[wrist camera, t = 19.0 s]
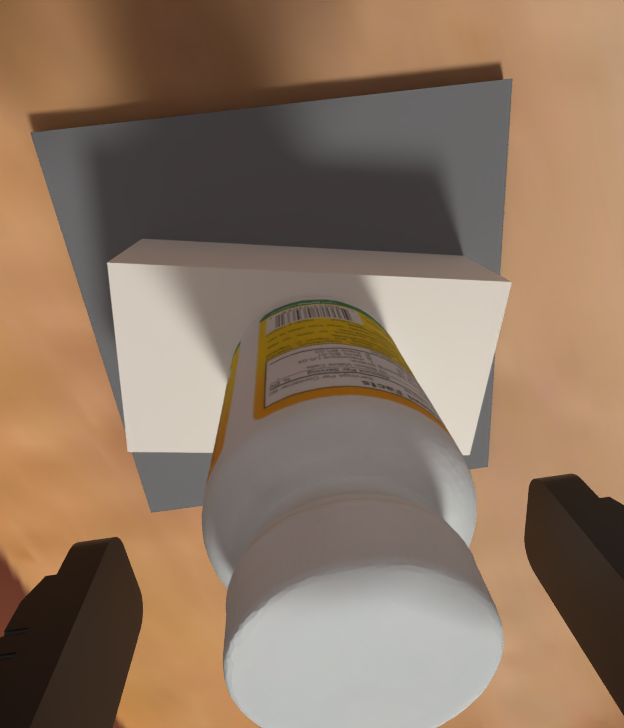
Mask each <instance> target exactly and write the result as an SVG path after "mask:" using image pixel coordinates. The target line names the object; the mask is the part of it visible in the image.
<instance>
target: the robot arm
mask: <svg viewBox="0 0 624 728" xmlns="http://www.w3.org/2000/svg"><path fill="white" fill-rule="evenodd" d="M524 541H525V549H526V553H527V557H528V560H529V563H530V565H531V567H532V569H533V571H534V573H535V575H536V576H537V578H538V579H539V581H540V583H541V584H542V586H543V587H544V589H545V591H546V592H547V594H548V595H549V597H550V599H551V600H552V602H553V603H554V605H555V607H556V608H557V610H558V611H559V613H560V615H561V616H562V618H563V619H564V621H565V622H566V624H567V626H568V627H569V629H570V630H571V632H572V634H573V635H574V637H575V638H576V640H577V642H578V643H579V645H580V646H581V648H582V650H583V651H584V653H585V654H586V656H587V658H588V659H589V661H590V662H591V664H592V666H593V667H594V669H595V670H596V672H597V674H598V675H599V677H600V678H601V680H602V682H603V683H604V685H605V686H606V688H607V690H608V691H609V693H610V694H611V696H612V698H613V699H614V701H615V702H616V704H617V706H618V707H619V709H620V710H621V712H622V714H623V715H624V505H623V504H621V503H619V502H617V501H616V500H614V499H612V498H611V497H605V498H599V497H598V496H597V495H596V494H595V493H594V492H593V491H592V490H591V489H590V488H589V487H588V486H587V484H586V483H585V482H584V481H583V480H582V479H581V478H580V477H578V476H577V475H575V474H565V475H558V476H551V477H544V478H537V479H533V480H532V481H531V482H530V485H529V492H528V503H527V514H526V525H525V536H524ZM142 617H143V602H142V595H141V591H140V589H139V586H138V583H137V580H136V578H135V575H134V572H133V570H132V567H131V564H130V561H129V559H128V556H127V553H126V551H125V548H124V545H123V543H122V541H121V540H120V539H119V538H118V537H112V538H105V539H98V540H91V541H84V542H78V543H75V544H74V545H73V546H72V547H71V548H70V550H69V552H68V554H67V556H66V558H65V560H64V561H63V563H62V565H61V567H60V569H59V571H58V573H57V575H50V576H45V577H44V578H43V579H42V581H41V582H40V583H39V584H38V585H37V586H36V587H35V588H34V589H33V590H32V591H31V592H30V593H29V594H28V595H27V596H26V597H25V598H24V599H23V600H22V601H21V603H20V604H19V606H18V608H17V610H16V611H15V613H14V615H13V617H12V618H11V620H10V622H9V624H8V626H7V627H6V629H5V631H4V632H5V634H4V637H1V638H0V728H113V724H114V721H115V717H116V714H117V710H118V707H119V703H120V700H121V696H122V693H123V689H124V686H125V682H126V678H127V675H128V671H129V668H130V664H131V661H132V657H133V654H134V650H135V647H136V643H137V640H138V636H139V632H140V629H141V624H142Z"/></svg>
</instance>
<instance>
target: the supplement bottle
mask: <svg viewBox="0 0 624 728" xmlns="http://www.w3.org/2000/svg"><path fill="white" fill-rule="evenodd" d="M476 512H477V505H476V492H475V488H474V483H473V479H472V476H471V473H470V470H469V467H468V465H467V463H466V461H465V459H464V457H463V455H462V453H461V451H460V450H459V448H458V446H457V444H456V443H455V441H454V439H453V438H452V436H451V435H450V433H449V431H448V430H447V428H446V426H445V424H444V423H443V421H442V420H441V418H440V416H439V415H438V413H437V412H436V410H435V408H434V407H433V405H432V403H431V402H430V400H429V398H428V397H427V395H426V394H425V392H424V390H423V389H422V388H421V386H420V385H419V383H418V382H417V380H416V378H415V376H414V375H413V373H412V371H411V370H410V368H409V366H408V365H407V363H406V362H405V360H404V358H403V357H402V355H401V353H400V352H399V350H398V348H397V346H396V344H395V343H394V341H393V339H392V338H391V336H390V335H389V334H388V332H387V331H386V329H385V328H384V327H383V326H382V324H381V323H380V322H379V321H378V320H377V319H376V318H375V317H374V316H372V315H371V314H370V313H368V312H367V311H366V310H364V309H363V308H361V307H359V306H357V305H355V304H353V303H351V302H348V301H345V300H342V299H339V298H334V297H328V296H305V297H298V298H294V299H290V300H287V301H284V302H282V303H279V304H277V305H275V306H273V307H272V308H270V309H268V310H267V311H265V312H264V313H263V314H261V315H260V316H259V317H258V318H256V319H255V320H254V321H253V322H252V323H251V324H250V326H249V327H248V328H247V329H246V330H245V332H244V333H243V335H242V337H241V338H240V340H239V342H238V344H237V346H236V348H235V351H234V354H233V357H232V361H231V365H230V370H229V376H228V380H227V384H226V390H225V396H224V401H223V406H222V411H221V415H220V421H219V425H218V430H217V435H216V440H215V445H214V450H213V454H212V459H211V464H210V469H209V473H208V477H207V483H206V488H205V494H204V500H203V509H202V531H203V538H204V543H205V547H206V550H207V554H208V557H209V559H210V561H211V564H212V566H213V568H214V570H215V572H216V573H217V575H218V577H219V578H220V580H221V581H222V583H223V584H224V586H225V587H226V588H227V589H228V591H227V597H226V628H225V639H224V651H223V669H224V678H225V682H226V685H227V688H228V691H229V693H230V696H231V697H232V699H233V700H234V702H235V703H236V705H237V706H238V708H239V709H240V710H241V711H242V712H243V713H244V714H245V715H246V716H247V717H248V718H249V719H251V720H252V721H253V722H254V723H255V724H257V725H259V726H260V727H262V728H436V727H438V726H440V725H442V724H444V723H445V722H447V721H448V720H450V719H452V718H454V717H455V716H457V715H458V714H459V713H461V712H462V711H463V710H465V709H466V708H467V707H468V706H469V705H470V704H471V703H472V702H473V701H474V700H475V699H476V698H478V697H479V696H480V695H481V694H482V692H483V691H484V690H485V688H486V687H487V686H488V684H489V683H490V681H491V680H492V678H493V676H494V674H495V672H496V669H497V667H498V665H499V663H500V660H501V657H502V652H503V644H504V639H503V628H502V623H501V620H500V617H499V615H498V612H497V609H496V606H495V604H494V602H493V600H492V598H491V595H490V593H489V591H488V589H487V587H486V585H485V582H484V580H483V578H482V576H481V574H480V572H479V570H478V567H477V565H476V562H475V560H474V557H473V554H472V553H471V551H470V549H469V547H470V543H471V540H472V537H473V534H474V529H475V524H476Z"/></svg>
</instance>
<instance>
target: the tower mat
mask: <svg viewBox="0 0 624 728" xmlns="http://www.w3.org/2000/svg"><path fill="white" fill-rule="evenodd" d="M511 93H512V79H504V80H495V81H486V82H477V83H468V84H459V85H450V86H442V87H433V88H424V89H415V90H406V91H397V92H388V93H379V94H370V95H361V96H352V97H343V98H334V99H326V100H317V101H308V102H299V103H290V104H281V105H272V106H263V107H254V108H245V109H236V110H227V111H218V112H209V113H201V114H192V115H183V116H174V117H165V118H156V119H147V120H138V121H129V122H120V123H111V124H102V125H93V126H85V127H76V128H67V129H58V130H49V131H40V132H31V136H32V140H33V143H34V146H35V149H36V152H37V155H38V158H39V162H40V165H41V168H42V171H43V174H44V177H45V180H46V184H47V187H48V190H49V193H50V196H51V199H52V202H53V206H54V209H55V212H56V215H57V218H58V221H59V224H60V228H61V231H62V234H63V237H64V240H65V243H66V246H67V250H68V253H69V256H70V259H71V262H72V265H73V268H74V272H75V275H76V278H77V281H78V284H79V287H80V290H81V294H82V297H83V300H84V303H85V306H86V309H87V312H88V316H89V319H90V322H91V325H92V328H93V331H94V334H95V338H96V341H97V344H98V347H99V350H100V353H101V356H102V360H103V363H104V366H105V369H106V372H107V375H108V378H109V382H110V385H111V388H112V391H113V394H114V397H115V400H116V404H117V407H118V410H119V413H120V416H121V419H122V422H123V426H124V429H125V422H124V412H123V403H122V394H121V385H120V376H119V367H118V358H117V348H116V339H115V330H114V321H113V312H112V303H111V294H110V284H109V275H108V266H107V262H109V261H110V260H112V259H113V258H115V257H116V256H117V255H119V254H120V253H122V252H123V251H125V250H126V249H128V248H129V247H131V246H132V245H134V244H135V243H136V242H138V241H139V240H141V239H159V240H178V241H196V242H215V243H234V244H253V245H271V246H290V247H309V248H328V249H346V250H365V251H384V252H403V253H422V254H440V255H459V256H465V257H467V258H469V259H470V260H472V261H474V262H476V263H478V264H480V265H481V266H483V267H485V268H487V269H489V270H491V271H492V272H494V273H496V274H498V275H500V267H501V251H502V235H503V219H504V203H505V188H506V172H507V156H508V140H509V124H510V109H511ZM494 361H495V353H494V357H493V361H492V365H491V369H490V373H489V378H488V382H487V386H486V390H485V394H484V398H483V402H482V406H481V411H480V415H479V419H478V423H477V427H476V431H475V435H474V439H473V444H472V448H471V452H470V455H463V457H464V459H465V461H466V463H467V465H468V467H469V469H475V468H482V467H488V456H489V440H490V425H491V409H492V393H493V377H494ZM125 432H126V431H125ZM132 454H133V457H134V460H135V463H136V466H137V470H138V473H139V476H140V479H141V482H142V485H143V488H144V492H145V495H146V498H147V501H148V504H149V507H150V510H151V513H152V512H160V511H167V510H174V509H182V508H189V507H196V506H203V500H204V494H205V488H206V483H207V477H208V473H209V469H210V464H211V459H212V454H213V453H182V452H132Z"/></svg>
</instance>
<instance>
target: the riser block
mask: <svg viewBox="0 0 624 728" xmlns="http://www.w3.org/2000/svg"><path fill="white" fill-rule="evenodd" d="M107 266H108V275H109V284H110V294H111V303H112V312H113V321H114V330H115V339H116V348H117V358H118V367H119V376H120V385H121V394H122V403H123V412H124V422H125V431H126V440H127V449H128V452H182V453H213V450H214V445H215V440H216V435H217V430H218V425H219V421H220V415H221V411H222V406H223V401H224V396H225V390H226V384H227V380H228V376H229V370H230V365H231V361H232V357H233V354H234V351H235V348H236V346H237V344H238V342H239V340H240V338H241V337H242V335H243V333H244V332H245V330H246V329H247V328H248V327H249V326H250V324H251V323H252V322H253V321H254V320H255V319H256V318H258V317H259V316H260V315H261V314H263V313H264V312H265V311H267V310H268V309H270V308H272V307H273V306H275V305H277V304H279V303H282V302H284V301H287V300H290V299H294V298H298V297H305V296H328V297H334V298H339V299H342V300H345V301H348V302H351V303H353V304H355V305H357V306H359V307H361V308H363V309H364V310H366V311H367V312H368V313H370V314H371V315H372V316H374V317H375V318H376V319H377V320H378V321H379V322H380V323H381V324H382V326H383V327H384V328H385V329H386V331H387V332H388V334H389V335H390V336H391V338H392V339H393V341H394V343H395V344H396V346H397V348H398V350H399V352H400V353H401V355H402V357H403V358H404V360H405V362H406V363H407V365H408V366H409V368H410V370H411V371H412V373H413V375H414V376H415V378H416V380H417V382H418V383H419V385H420V386H421V388H422V389H423V390H424V392H425V394H426V395H427V397H428V398H429V400H430V402H431V403H432V405H433V407H434V408H435V410H436V412H437V413H438V415H439V416H440V418H441V420H442V421H443V423H444V424H445V426H446V428H447V430H448V431H449V433H450V435H451V436H452V438H453V439H454V441H455V443H456V444H457V446H458V448H459V450H460V451H461V453H462V455H470V452H471V448H472V444H473V439H474V435H475V431H476V427H477V423H478V419H479V415H480V411H481V406H482V402H483V398H484V394H485V390H486V386H487V382H488V378H489V373H490V369H491V365H492V361H493V357H494V353H495V349H496V345H497V341H498V336H499V332H500V328H501V324H502V320H503V316H504V312H505V308H506V303H507V299H508V295H509V291H510V287H511V283H512V282H511V281H509V280H507V279H505V278H503V277H502V276H500V275H498V274H496V273H494V272H492V271H491V270H489V269H487V268H485V267H483V266H481V265H480V264H478V263H476V262H474V261H472V260H470V259H469V258H467V257H465V256H459V255H440V254H422V253H403V252H384V251H365V250H346V249H328V248H309V247H290V246H271V245H253V244H234V243H215V242H196V241H178V240H159V239H141V240H139V241H138V242H136V243H135V244H134V245H132V246H131V247H129V248H128V249H126V250H125V251H123V252H122V253H120V254H119V255H117V256H116V257H115V258H113V259H112V260H110V261H109V262H107Z"/></svg>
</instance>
